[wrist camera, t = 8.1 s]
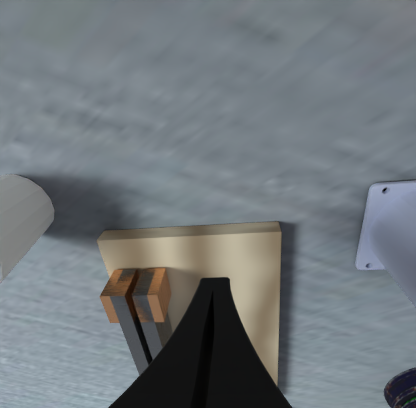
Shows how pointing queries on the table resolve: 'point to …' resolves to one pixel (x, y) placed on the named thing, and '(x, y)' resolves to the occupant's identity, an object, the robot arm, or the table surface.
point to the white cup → (21, 219)
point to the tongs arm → (153, 307)
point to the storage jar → (402, 390)
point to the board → (211, 270)
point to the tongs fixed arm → (126, 314)
